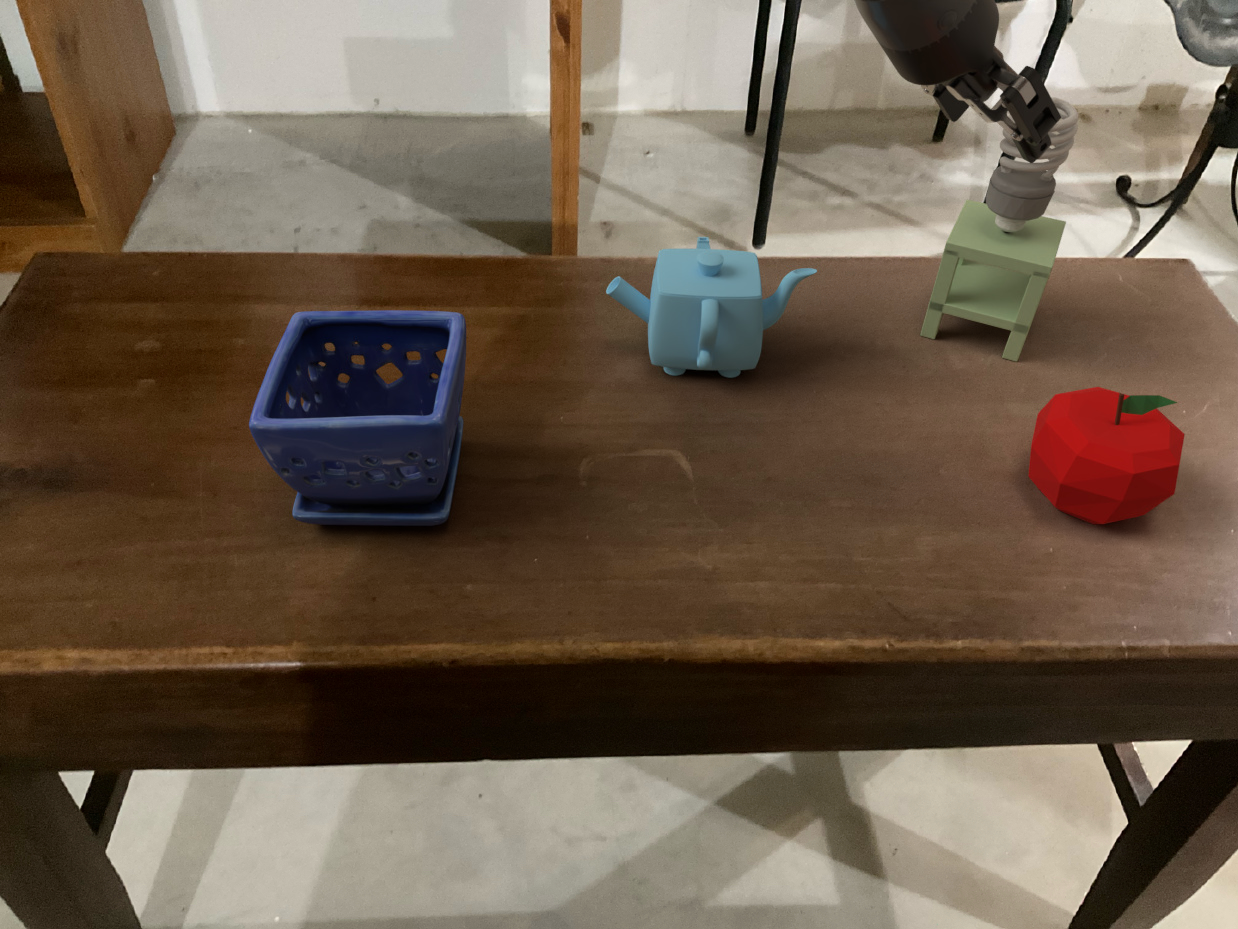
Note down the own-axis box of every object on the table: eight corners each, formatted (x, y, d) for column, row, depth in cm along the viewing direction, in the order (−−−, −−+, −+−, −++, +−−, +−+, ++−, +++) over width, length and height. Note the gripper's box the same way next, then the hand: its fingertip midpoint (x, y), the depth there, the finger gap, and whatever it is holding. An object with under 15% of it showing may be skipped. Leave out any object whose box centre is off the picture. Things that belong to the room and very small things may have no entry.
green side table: (1032, 313, 94) (1066, 221, 87) (1017, 362, 88) (1052, 267, 81) (940, 290, 97) (966, 198, 90) (919, 335, 91) (946, 241, 84)
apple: (1027, 536, 72) (1072, 435, 65) (1001, 443, 79) (1040, 344, 73) (1173, 550, 71) (1235, 449, 64) (1133, 454, 79) (1184, 356, 72)
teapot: (602, 392, 83) (602, 293, 77) (609, 302, 94) (610, 208, 87) (808, 400, 83) (827, 301, 76) (793, 309, 93) (808, 215, 87)
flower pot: (464, 546, 70) (447, 422, 62) (281, 547, 70) (240, 421, 61) (480, 428, 80) (467, 307, 71) (320, 428, 79) (289, 306, 71)
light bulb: (972, 242, 84) (1013, 106, 76) (974, 212, 88) (1014, 81, 80) (1039, 252, 83) (1088, 116, 75) (1039, 222, 87) (1085, 90, 78)
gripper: (1043, -20, 59) (1104, 126, 71) (892, -76, 68) (968, 62, 80) (957, 80, 61) (1030, 206, 73) (820, 13, 70) (905, 135, 82)
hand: (998, 131), depth 77 cm, fingers open, 8 cm apart
